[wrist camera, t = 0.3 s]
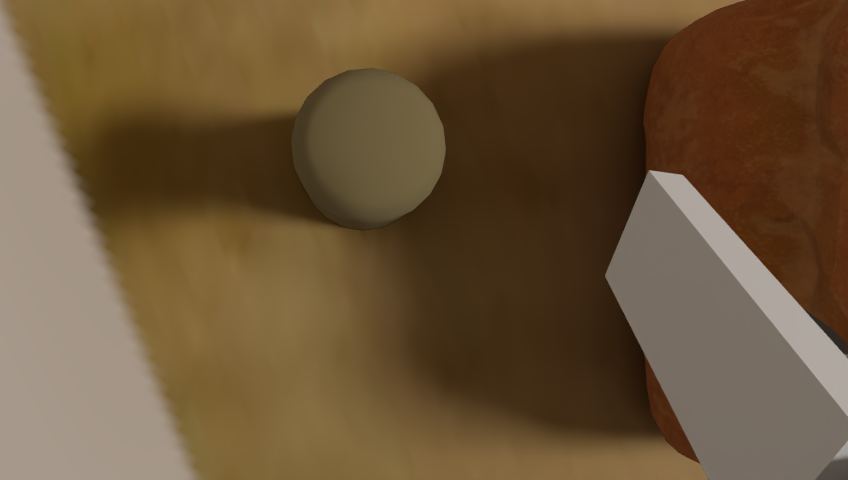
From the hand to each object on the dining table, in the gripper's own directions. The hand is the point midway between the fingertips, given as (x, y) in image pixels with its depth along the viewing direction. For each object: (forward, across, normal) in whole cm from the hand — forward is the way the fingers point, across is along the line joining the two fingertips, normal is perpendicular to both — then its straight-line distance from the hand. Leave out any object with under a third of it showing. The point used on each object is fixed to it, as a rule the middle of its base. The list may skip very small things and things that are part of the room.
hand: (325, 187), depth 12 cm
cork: (+16, -1, +8) cm, 18 cm away
